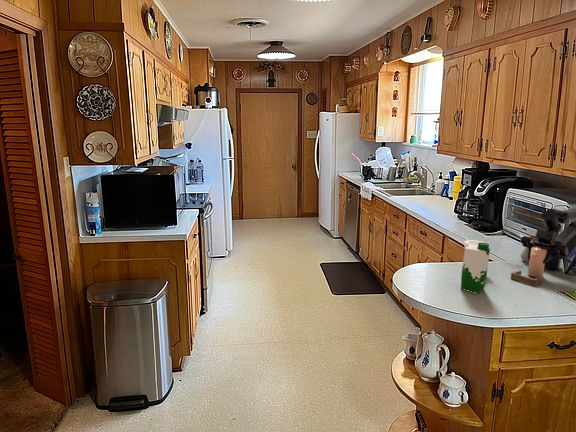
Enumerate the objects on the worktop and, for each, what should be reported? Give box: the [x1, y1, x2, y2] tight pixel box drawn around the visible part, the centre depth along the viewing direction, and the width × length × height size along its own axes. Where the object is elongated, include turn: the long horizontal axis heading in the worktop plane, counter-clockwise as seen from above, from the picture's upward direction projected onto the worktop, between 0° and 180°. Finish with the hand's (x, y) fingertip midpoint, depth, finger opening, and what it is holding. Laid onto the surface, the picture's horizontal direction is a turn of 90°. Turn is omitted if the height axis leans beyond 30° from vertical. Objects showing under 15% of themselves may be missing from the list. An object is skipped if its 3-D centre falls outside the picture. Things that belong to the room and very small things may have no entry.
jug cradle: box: [510, 269, 544, 286], centre depth 189 cm, size 8×10×2 cm
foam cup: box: [464, 239, 486, 249], centre depth 199 cm, size 10×9×13 cm
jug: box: [527, 247, 547, 278], centre depth 192 cm, size 8×6×12 cm
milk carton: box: [460, 242, 491, 294], centre depth 176 cm, size 9×9×20 cm
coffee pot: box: [501, 228, 542, 265], centre depth 213 cm, size 21×12×15 cm, turn 60°
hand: (535, 261), depth 192 cm, fingers closed on jug, 6 cm apart
